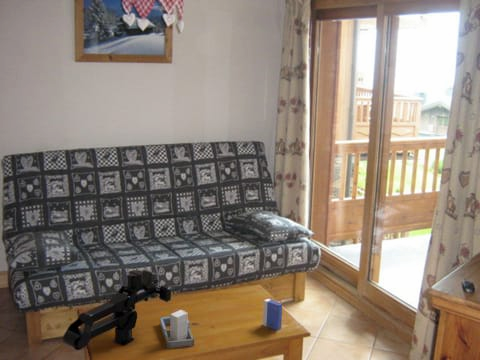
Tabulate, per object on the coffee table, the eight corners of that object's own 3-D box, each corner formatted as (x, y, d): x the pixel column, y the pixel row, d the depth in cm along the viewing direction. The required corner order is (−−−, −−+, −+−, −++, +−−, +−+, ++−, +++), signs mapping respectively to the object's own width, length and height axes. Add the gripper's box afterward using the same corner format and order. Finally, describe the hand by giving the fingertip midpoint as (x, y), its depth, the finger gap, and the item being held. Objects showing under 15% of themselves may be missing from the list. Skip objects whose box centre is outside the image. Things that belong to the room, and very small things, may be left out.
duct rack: (194, 345, 235) (194, 334, 234) (167, 348, 232) (167, 336, 231) (184, 321, 254) (184, 311, 253) (160, 324, 251) (160, 313, 250)
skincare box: (180, 335, 242) (180, 309, 239) (187, 339, 239) (188, 312, 237) (169, 341, 237) (169, 314, 235) (177, 344, 235) (177, 317, 232)
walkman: (281, 328, 252) (282, 302, 249) (277, 330, 249) (279, 304, 247) (265, 322, 256) (267, 297, 253) (262, 325, 254) (263, 299, 251)
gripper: (157, 281, 233) (183, 271, 246) (124, 269, 244) (150, 260, 256) (156, 307, 236) (182, 295, 248) (124, 294, 246) (150, 284, 259)
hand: (166, 283), depth 253 cm, fingers open, 9 cm apart
